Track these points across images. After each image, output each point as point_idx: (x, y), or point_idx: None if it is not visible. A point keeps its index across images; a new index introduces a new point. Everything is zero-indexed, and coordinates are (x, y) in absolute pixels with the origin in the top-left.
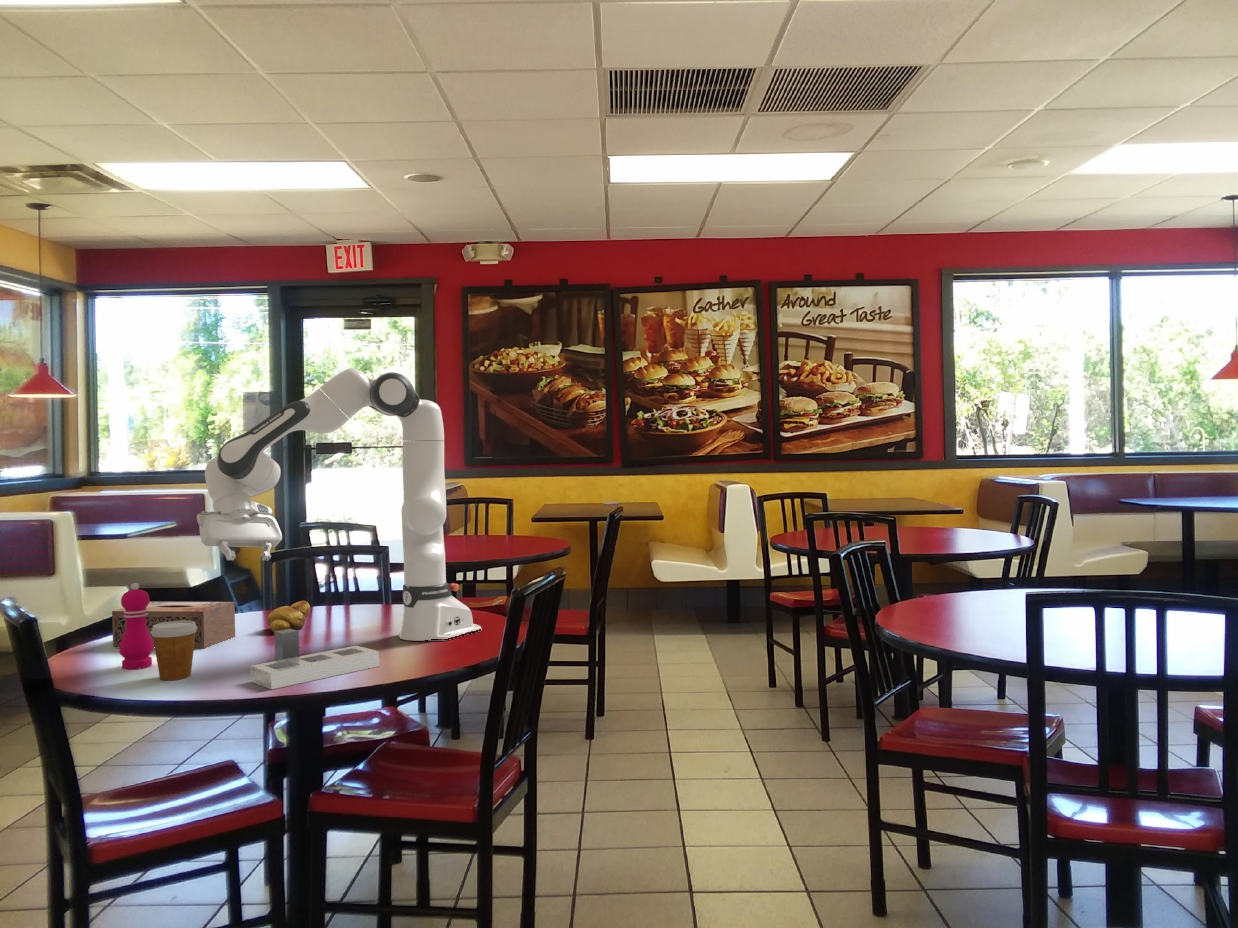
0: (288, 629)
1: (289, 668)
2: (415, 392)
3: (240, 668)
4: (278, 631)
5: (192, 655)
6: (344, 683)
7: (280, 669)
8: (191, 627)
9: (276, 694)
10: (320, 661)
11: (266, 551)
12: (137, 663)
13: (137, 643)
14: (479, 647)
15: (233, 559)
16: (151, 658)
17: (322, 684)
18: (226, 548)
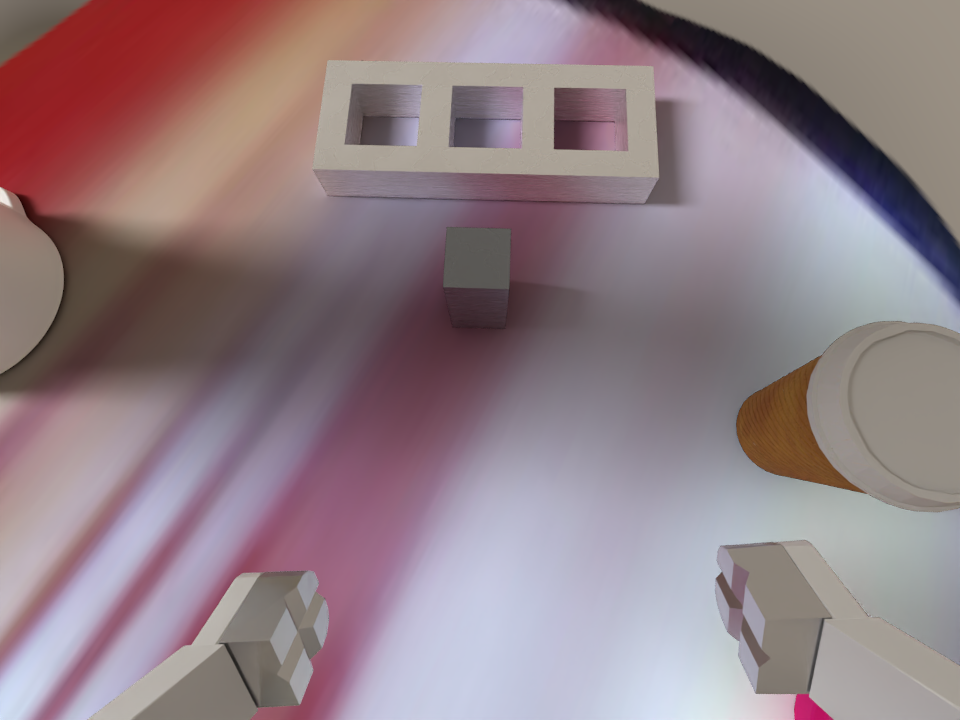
0: (455, 281)
1: (596, 73)
2: None
3: (596, 372)
4: (499, 276)
5: (772, 388)
6: (496, 26)
7: (618, 81)
8: (859, 334)
9: (650, 57)
10: (499, 78)
11: (235, 641)
12: None
13: None
14: (47, 63)
15: (720, 578)
16: (814, 703)
17: (534, 54)
18: (933, 654)
